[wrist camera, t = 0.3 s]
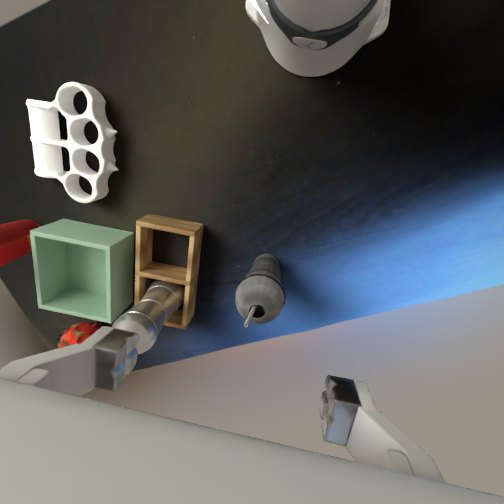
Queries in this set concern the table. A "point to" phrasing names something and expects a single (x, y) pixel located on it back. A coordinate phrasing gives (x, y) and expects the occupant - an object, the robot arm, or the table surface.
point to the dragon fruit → (77, 333)
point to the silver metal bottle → (151, 312)
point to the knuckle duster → (72, 141)
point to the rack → (167, 272)
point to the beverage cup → (261, 291)
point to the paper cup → (15, 239)
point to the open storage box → (83, 269)
